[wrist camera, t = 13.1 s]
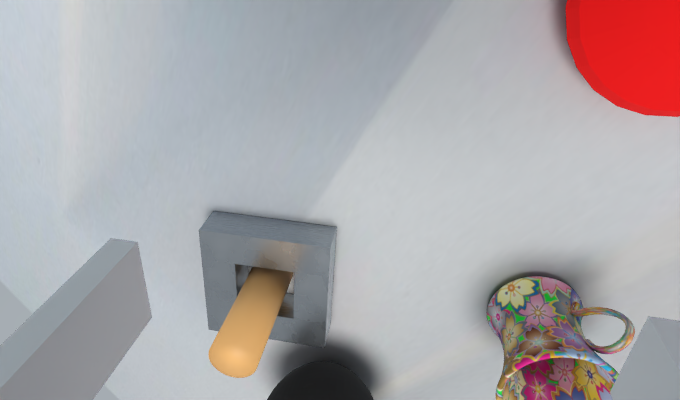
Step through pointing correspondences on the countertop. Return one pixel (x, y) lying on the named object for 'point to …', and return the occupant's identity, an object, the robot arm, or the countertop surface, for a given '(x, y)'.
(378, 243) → the countertop surface
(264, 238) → the grey peg socket
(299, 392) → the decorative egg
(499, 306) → the mug
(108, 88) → the countertop surface
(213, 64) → the countertop surface
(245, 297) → the orange cylindrical peg
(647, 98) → the red pot lid
